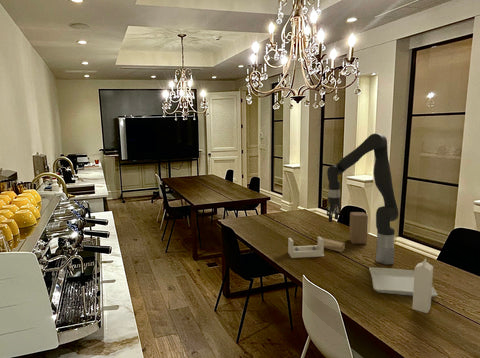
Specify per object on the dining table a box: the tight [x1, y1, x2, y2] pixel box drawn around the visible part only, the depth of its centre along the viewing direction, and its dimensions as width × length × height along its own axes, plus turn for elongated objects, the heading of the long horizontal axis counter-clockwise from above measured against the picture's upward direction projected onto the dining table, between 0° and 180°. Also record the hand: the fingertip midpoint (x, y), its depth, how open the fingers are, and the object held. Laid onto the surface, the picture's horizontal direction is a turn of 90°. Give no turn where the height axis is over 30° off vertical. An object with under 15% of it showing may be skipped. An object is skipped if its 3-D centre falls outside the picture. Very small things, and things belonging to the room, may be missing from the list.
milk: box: [411, 258, 434, 314], centre depth 147 cm, size 6×6×22 cm
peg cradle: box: [287, 236, 325, 259], centre depth 214 cm, size 10×20×10 cm, turn 95°
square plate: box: [368, 267, 439, 298], centre depth 170 cm, size 27×27×4 cm
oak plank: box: [322, 237, 346, 253], centre depth 224 cm, size 4×15×5 cm, turn 50°
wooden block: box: [348, 211, 369, 245], centre depth 235 cm, size 10×10×20 cm
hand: (333, 220), depth 222 cm, fingers open, 8 cm apart
